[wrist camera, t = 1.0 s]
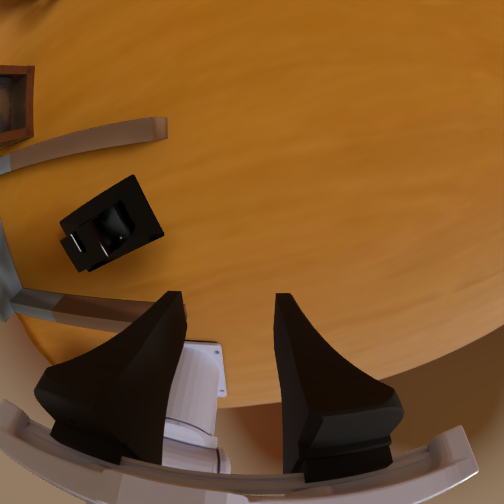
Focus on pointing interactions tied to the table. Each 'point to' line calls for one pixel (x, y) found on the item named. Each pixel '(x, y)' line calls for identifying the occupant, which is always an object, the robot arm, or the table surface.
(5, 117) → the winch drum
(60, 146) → the bay
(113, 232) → the black holder block
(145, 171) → the table surface
